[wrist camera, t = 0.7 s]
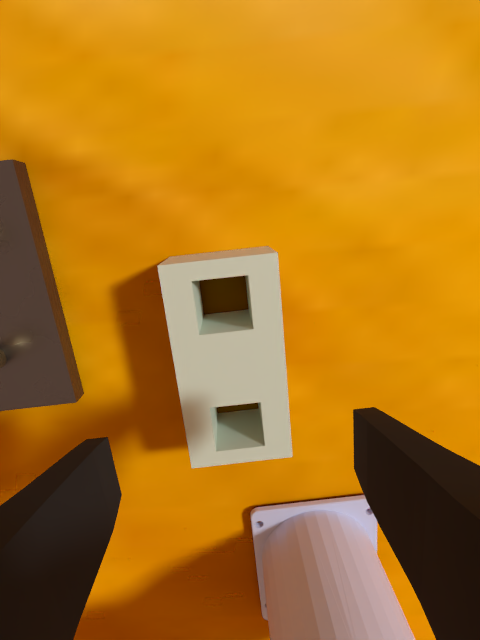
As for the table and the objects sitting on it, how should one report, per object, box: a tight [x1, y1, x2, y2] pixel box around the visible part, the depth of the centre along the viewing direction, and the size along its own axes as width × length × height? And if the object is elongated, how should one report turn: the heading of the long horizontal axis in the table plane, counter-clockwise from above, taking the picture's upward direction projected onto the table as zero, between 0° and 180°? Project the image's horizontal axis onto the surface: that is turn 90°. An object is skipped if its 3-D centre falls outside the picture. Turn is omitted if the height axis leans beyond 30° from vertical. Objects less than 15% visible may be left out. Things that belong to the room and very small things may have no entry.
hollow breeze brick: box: [157, 246, 293, 468], centre depth 18 cm, size 10×5×4 cm, turn 6°
